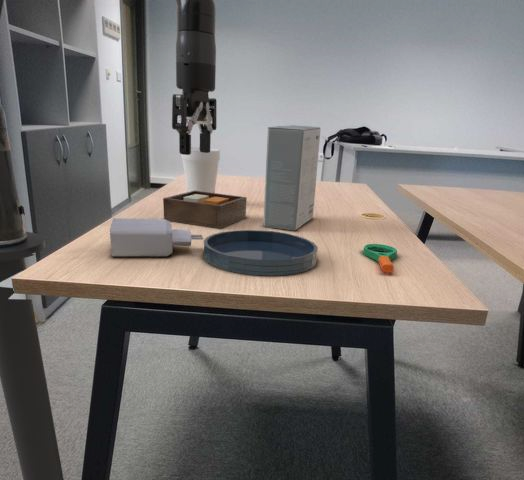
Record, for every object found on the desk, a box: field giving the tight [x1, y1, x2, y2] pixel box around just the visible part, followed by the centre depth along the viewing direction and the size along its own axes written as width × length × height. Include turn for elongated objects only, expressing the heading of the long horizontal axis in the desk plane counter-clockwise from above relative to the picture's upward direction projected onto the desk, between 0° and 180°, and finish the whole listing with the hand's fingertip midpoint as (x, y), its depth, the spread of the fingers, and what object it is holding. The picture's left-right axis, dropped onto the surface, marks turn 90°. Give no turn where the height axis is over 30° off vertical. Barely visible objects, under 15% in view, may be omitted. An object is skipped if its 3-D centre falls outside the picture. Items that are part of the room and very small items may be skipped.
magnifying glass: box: [363, 243, 398, 273], centre depth 83 cm, size 15×6×2 cm, turn 173°
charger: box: [109, 217, 204, 257], centre depth 80 cm, size 5×9×15 cm
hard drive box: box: [262, 124, 321, 232], centre depth 103 cm, size 16×8×20 cm, turn 161°
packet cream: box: [183, 194, 209, 203], centre depth 106 cm, size 4×6×4 cm, turn 158°
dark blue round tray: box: [203, 229, 318, 277], centre depth 81 cm, size 19×19×2 cm
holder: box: [162, 191, 248, 229], centre depth 105 cm, size 14×14×5 cm
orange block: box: [204, 197, 229, 205], centre depth 104 cm, size 4×6×4 cm, turn 158°
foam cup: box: [180, 146, 221, 193], centre depth 120 cm, size 10×9×13 cm
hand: (195, 153), depth 97 cm, fingers open, 8 cm apart
